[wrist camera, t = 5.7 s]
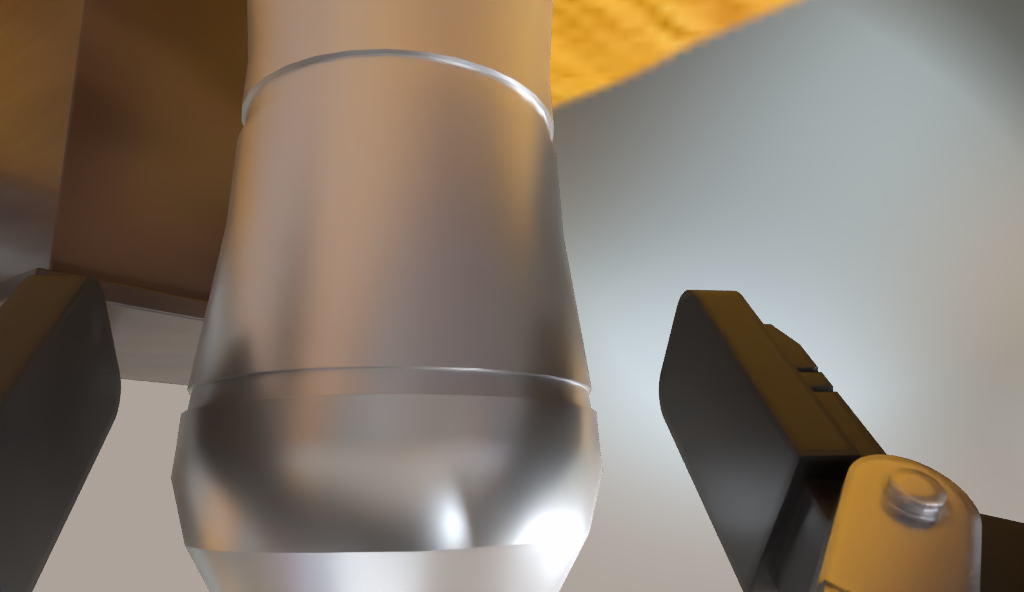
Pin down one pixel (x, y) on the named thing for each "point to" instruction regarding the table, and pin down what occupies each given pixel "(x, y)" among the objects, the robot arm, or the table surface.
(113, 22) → the cabinet
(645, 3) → the table surface
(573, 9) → the table surface
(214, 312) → the silver metal bottle
